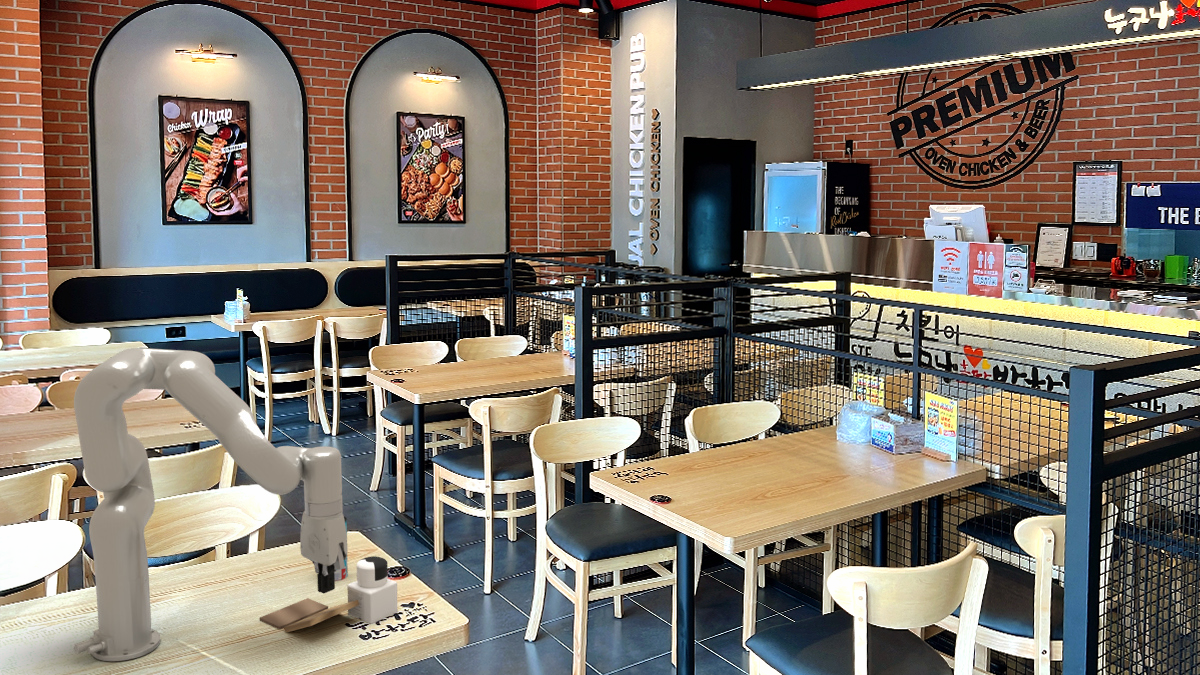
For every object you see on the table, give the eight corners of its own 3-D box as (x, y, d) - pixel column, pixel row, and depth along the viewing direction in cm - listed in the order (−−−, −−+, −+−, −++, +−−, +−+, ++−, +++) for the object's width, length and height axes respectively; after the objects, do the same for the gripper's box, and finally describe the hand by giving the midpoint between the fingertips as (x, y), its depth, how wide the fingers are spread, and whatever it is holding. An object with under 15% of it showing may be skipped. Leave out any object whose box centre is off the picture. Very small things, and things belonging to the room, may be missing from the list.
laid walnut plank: (315, 648, 196) (315, 642, 196) (259, 623, 207) (259, 617, 206) (364, 626, 207) (363, 620, 206) (308, 603, 217) (307, 597, 217)
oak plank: (311, 625, 196) (309, 620, 196) (285, 632, 202) (283, 627, 202) (359, 604, 206) (357, 599, 207) (333, 612, 212) (331, 607, 212)
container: (374, 605, 217) (373, 550, 215) (398, 615, 212) (397, 558, 210) (347, 617, 211) (346, 561, 209) (371, 627, 206) (370, 569, 204)
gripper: (285, 504, 201) (288, 587, 204) (333, 519, 192) (335, 606, 195) (314, 495, 207) (317, 576, 210) (362, 509, 198) (364, 593, 201)
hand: (326, 590), depth 203 cm, fingers closed
